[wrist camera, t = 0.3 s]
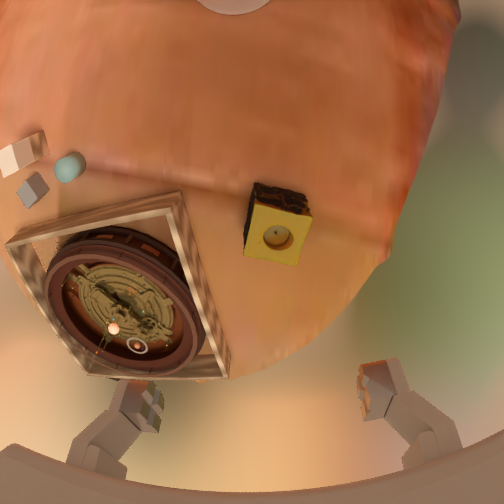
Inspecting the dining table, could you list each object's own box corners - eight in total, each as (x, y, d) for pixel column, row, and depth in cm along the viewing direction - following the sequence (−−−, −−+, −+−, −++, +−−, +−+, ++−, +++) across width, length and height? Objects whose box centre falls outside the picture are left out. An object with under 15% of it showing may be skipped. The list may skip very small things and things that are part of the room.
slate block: (28, 184, 55) (16, 192, 50) (38, 172, 53) (25, 180, 49) (39, 200, 57) (27, 209, 53) (50, 189, 55) (37, 198, 51)
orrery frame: (21, 228, 61) (4, 244, 54) (181, 190, 56) (170, 207, 49) (95, 357, 86) (87, 375, 79) (230, 356, 81) (228, 378, 74)
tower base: (27, 138, 49) (12, 145, 44) (43, 130, 48) (28, 136, 43) (34, 160, 52) (19, 168, 47) (50, 153, 51) (35, 161, 46)
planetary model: (99, 178, 55) (70, 201, 45) (246, 310, 72) (244, 347, 62) (34, 281, 70) (13, 307, 60) (147, 369, 88) (138, 399, 78)
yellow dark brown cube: (254, 181, 55) (253, 201, 47) (306, 193, 56) (315, 215, 48) (242, 228, 60) (240, 256, 52) (291, 239, 61) (296, 267, 53)
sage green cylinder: (64, 155, 52) (51, 163, 47) (82, 149, 51) (69, 155, 47) (71, 177, 54) (58, 185, 50) (88, 171, 54) (76, 179, 49)
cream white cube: (12, 145, 44) (-5, 153, 39) (28, 136, 43) (11, 143, 39) (19, 168, 47) (3, 177, 42) (35, 161, 46) (19, 170, 42)
